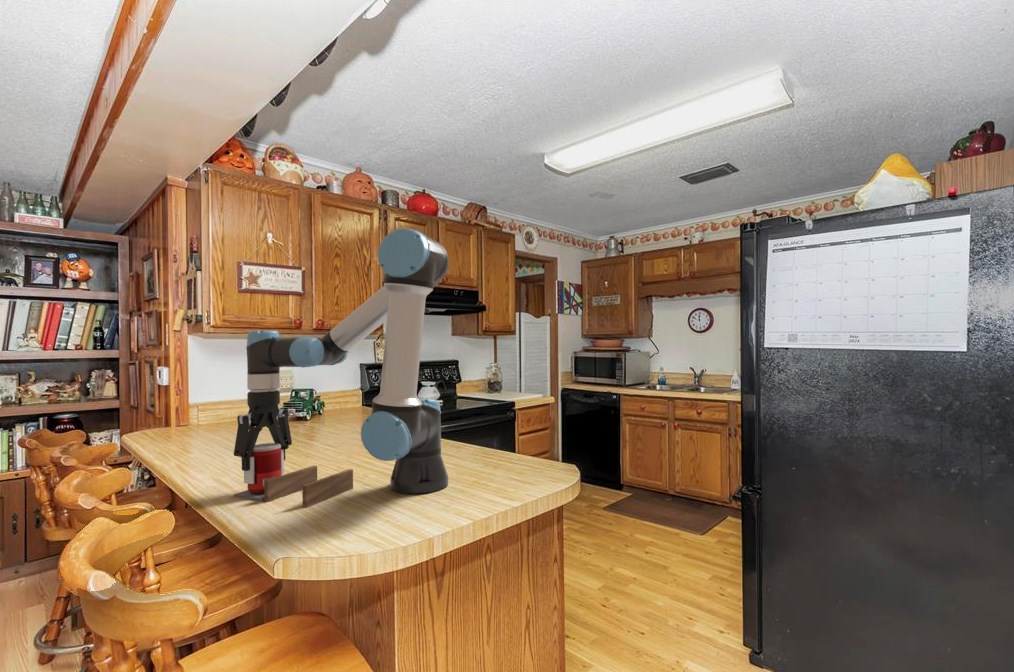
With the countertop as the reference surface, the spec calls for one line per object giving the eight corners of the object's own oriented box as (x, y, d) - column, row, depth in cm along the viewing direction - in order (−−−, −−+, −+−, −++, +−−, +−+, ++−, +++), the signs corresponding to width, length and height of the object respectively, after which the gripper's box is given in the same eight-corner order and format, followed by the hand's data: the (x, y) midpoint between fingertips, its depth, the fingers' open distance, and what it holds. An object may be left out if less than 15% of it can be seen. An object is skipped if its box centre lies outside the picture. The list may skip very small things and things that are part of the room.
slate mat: (294, 489, 129) (294, 487, 129) (262, 501, 120) (262, 498, 120) (266, 486, 133) (266, 484, 133) (233, 496, 123) (233, 494, 123)
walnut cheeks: (353, 488, 129) (352, 469, 129) (306, 507, 114) (306, 485, 114) (314, 483, 134) (313, 465, 134) (264, 501, 119) (264, 480, 119)
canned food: (287, 484, 130) (286, 442, 130) (269, 493, 122) (269, 449, 122) (259, 484, 130) (259, 442, 131) (240, 493, 123) (240, 449, 123)
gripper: (285, 386, 138) (286, 467, 137) (215, 394, 118) (216, 488, 118) (306, 387, 135) (307, 469, 134) (237, 394, 115) (238, 491, 115)
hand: (264, 478), depth 126 cm, fingers open, 8 cm apart
